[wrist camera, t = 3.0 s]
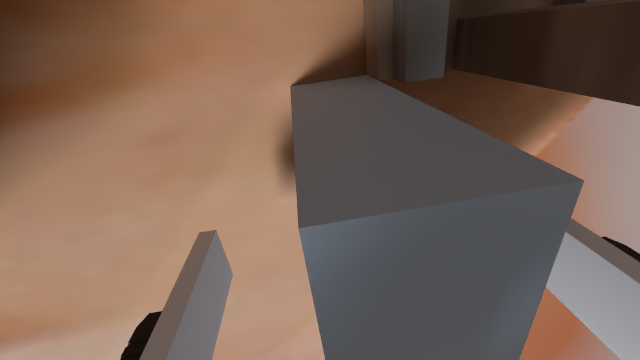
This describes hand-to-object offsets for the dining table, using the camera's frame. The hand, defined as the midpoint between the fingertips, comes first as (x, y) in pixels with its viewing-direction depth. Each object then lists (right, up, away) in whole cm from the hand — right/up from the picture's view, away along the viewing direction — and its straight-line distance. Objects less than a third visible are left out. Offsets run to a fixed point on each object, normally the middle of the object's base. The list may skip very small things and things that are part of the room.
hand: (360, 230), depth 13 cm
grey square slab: (-1, +2, +4) cm, 5 cm away
